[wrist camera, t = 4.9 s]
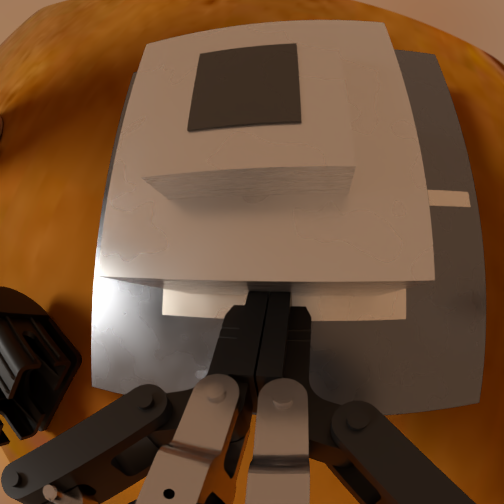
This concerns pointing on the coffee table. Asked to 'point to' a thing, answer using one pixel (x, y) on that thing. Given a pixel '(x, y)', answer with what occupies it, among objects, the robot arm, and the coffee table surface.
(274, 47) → the cover
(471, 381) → the grey flat square slab
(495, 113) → the coffee table surface
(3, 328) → the end cap
